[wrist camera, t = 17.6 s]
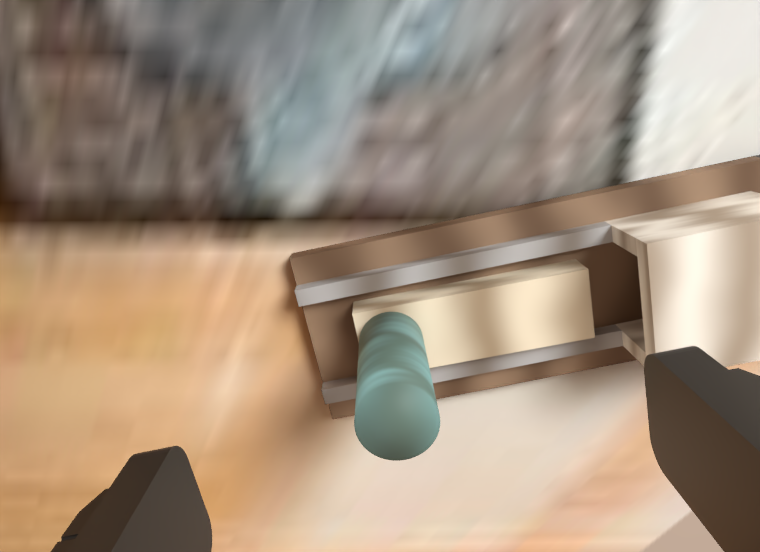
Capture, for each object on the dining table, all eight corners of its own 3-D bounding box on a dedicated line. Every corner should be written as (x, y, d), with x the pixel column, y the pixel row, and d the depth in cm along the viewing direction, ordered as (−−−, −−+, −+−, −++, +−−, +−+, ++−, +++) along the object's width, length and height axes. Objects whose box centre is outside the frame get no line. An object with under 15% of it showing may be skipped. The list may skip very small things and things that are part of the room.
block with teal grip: (367, 364, 43) (365, 471, 31) (353, 301, 42) (344, 388, 29) (582, 324, 42) (669, 417, 30) (575, 259, 41) (664, 329, 28)
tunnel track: (333, 409, 46) (326, 471, 38) (292, 253, 42) (274, 287, 34) (870, 303, 44) (976, 347, 36) (876, 130, 40) (996, 137, 32)
